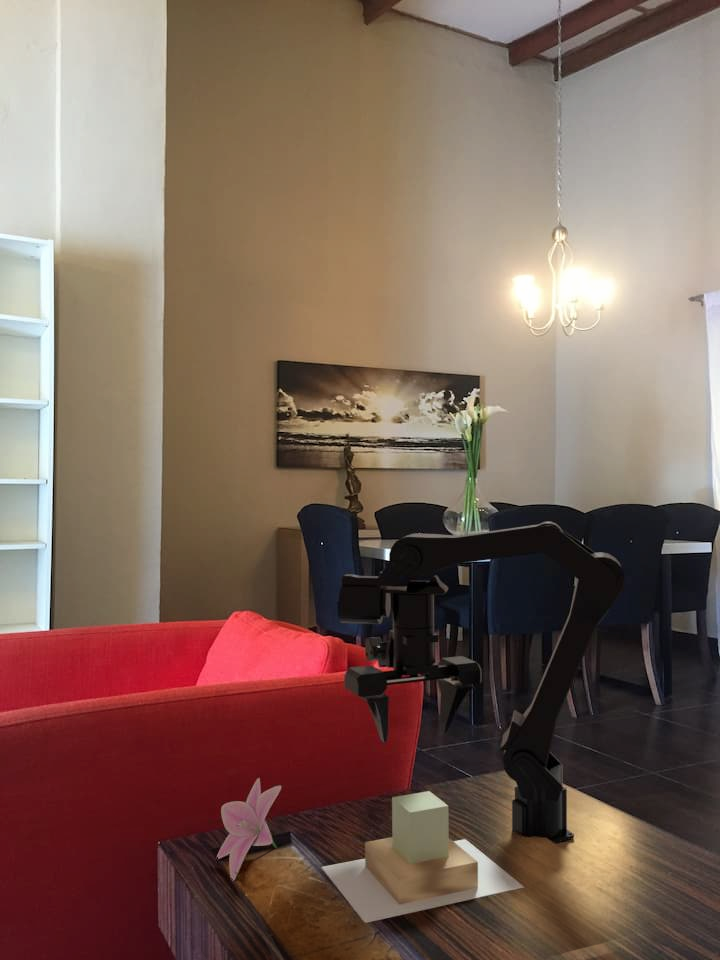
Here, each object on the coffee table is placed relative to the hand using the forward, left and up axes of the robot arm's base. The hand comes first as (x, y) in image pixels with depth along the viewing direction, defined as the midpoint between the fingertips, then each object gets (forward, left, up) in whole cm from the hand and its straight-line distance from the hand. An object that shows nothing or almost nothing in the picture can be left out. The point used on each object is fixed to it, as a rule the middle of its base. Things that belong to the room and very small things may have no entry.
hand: (414, 737), depth 121 cm
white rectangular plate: (+7, +16, -12) cm, 21 cm away
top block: (+7, +16, -8) cm, 19 cm away
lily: (+24, +2, -12) cm, 27 cm away
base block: (+7, +16, -11) cm, 21 cm away
